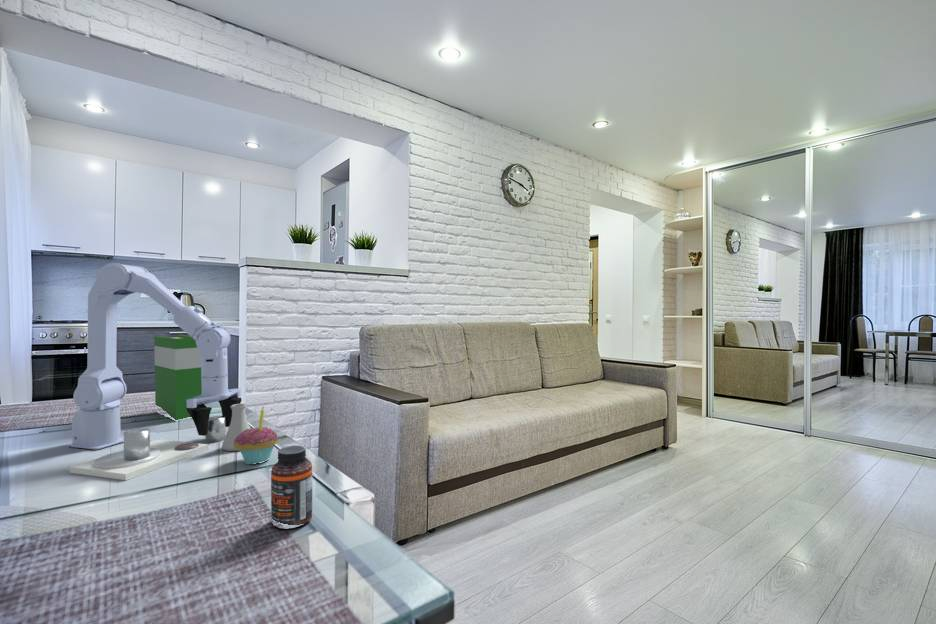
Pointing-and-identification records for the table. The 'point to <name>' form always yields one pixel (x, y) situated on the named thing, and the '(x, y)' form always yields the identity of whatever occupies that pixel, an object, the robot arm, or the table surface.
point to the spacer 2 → (216, 429)
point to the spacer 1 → (136, 444)
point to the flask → (235, 426)
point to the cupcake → (256, 443)
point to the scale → (125, 470)
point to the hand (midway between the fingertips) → (215, 430)
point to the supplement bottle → (291, 487)
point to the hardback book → (176, 374)
